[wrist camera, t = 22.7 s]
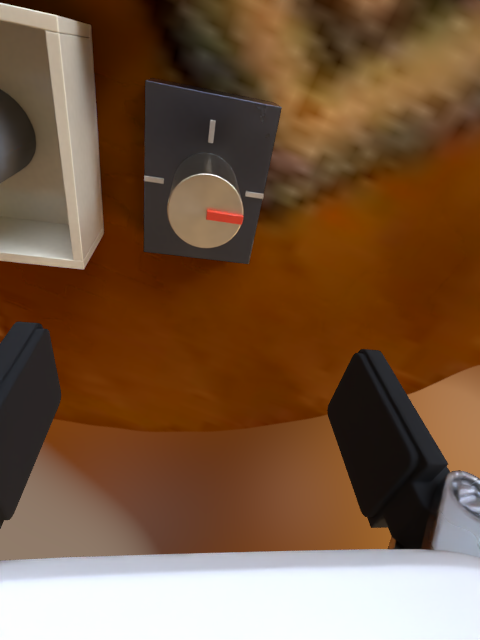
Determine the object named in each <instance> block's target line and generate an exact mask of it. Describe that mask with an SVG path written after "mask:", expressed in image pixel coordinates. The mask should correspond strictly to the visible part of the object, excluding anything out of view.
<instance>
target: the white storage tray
mask: <svg viewBox="0 0 480 640" xmlns="http://www.w3.org/2000/svg"><path fill="white" fill-rule="evenodd" d="M0 89H1V90H2V91H4V92H6V93H7V94H9V95H10V96H11V97H12V98H13V99H14V100H15V101H16V102H17V103H18V104H19V105H20V106H21V107H22V109H23V110H24V111H25V113H26V114H27V116H28V118H29V120H30V122H31V123H32V126H33V129H34V132H35V136H36V150H35V154H34V156H33V158H32V160H31V162H30V163H29V164H28V165H27V166H26V167H25V168H23V169H22V170H21V171H19V172H18V173H16V174H15V175H13V176H11V177H10V178H8V179H7V180H5V181H4V182H2V183H0V261H7V262H17V263H26V264H36V265H45V266H55V267H64V268H73V269H83V270H84V268H85V267H86V265H87V263H88V261H89V259H90V258H91V256H92V254H93V252H94V251H95V249H96V247H97V245H98V243H99V242H100V240H101V238H102V236H103V234H104V223H103V207H102V191H101V175H100V159H99V142H98V126H97V110H96V94H95V78H94V62H93V45H92V29H91V25H90V24H87V23H84V22H80V21H76V20H73V19H69V18H65V17H62V16H58V15H54V14H50V13H45V12H41V11H36V10H32V9H27V8H23V7H18V6H14V5H9V4H4V3H0Z"/></svg>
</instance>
